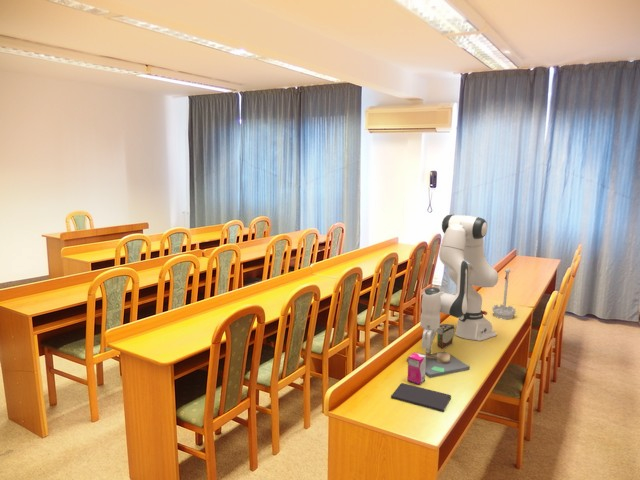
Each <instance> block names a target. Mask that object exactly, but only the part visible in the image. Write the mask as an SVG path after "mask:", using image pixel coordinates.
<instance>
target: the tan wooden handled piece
mask: <svg viewBox="0 0 640 480" xmlns="http://www.w3.org/2000/svg"><path fill="white" fill-rule="evenodd" d="M439 352H440V353H438V352H436V353H437V355H432V354H433V353H432V345H431V346H430V352H429V353H427V352H426V351H425V353H420V352H418V354H422V355H425V356H427V357H430V358H435V359H437V360H436V361H437V362H438V363H441V364H448V363H450V355H451V354H450V353H449V352H447V353H443V352H444V351H439ZM448 353H449V354H450V355H449V354H448Z"/></svg>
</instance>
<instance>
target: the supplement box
mask: <svg viewBox="0 0 640 480" xmlns="http://www.w3.org/2000/svg"><path fill="white" fill-rule="evenodd" d="M418 353H419V352H418ZM418 353H417V352H413V353H411V354H410V355H408V356H407V358H408V362H407V382H410V383H412V384H415V385H418V386H420V385H421V384H423V382H425V381H426V375H425V366H426V356H425V355H422V354H423V353H422V354H418Z"/></svg>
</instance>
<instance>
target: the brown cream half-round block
mask: <svg viewBox="0 0 640 480" xmlns="http://www.w3.org/2000/svg"><path fill="white" fill-rule="evenodd" d="M455 326H456V325H454V324H449V323H442V324H441V323H440V327H439V328H438V329H437V332H436V336H437V338H436V339H437V347H438V348H439V349H441V350H444V349H446V348H447V347H449V346H450V347H451V345H453V343H454V342H453V339H454V334H455V330H456V329H455V328H456V327H455Z"/></svg>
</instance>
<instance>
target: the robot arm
mask: <svg viewBox="0 0 640 480" xmlns="http://www.w3.org/2000/svg"><path fill="white" fill-rule="evenodd" d="M441 229H442V232H443V234H444V235H443V237H442V240H441V242H440V243H441V244H440V248H439V256H438V257H439V260H440V261H441V263H442V264H443V265H444V266H445V267H446V268H448V276H449V278H450V279H451V281H452V282H453V283H454V284H455V285H456V294H454V293H448V292H445V291H441V289H439V288H438V287H434V286H433V287H432V286H431V287H426V288H425V289H424V290H423V293H422V298H421V304H420V305H421V306H420V307H421V313H420V323H419V324H420V327H421V328H422V330H423V332H422V337H421V348H422V349H425V353H426V352H427V353H429V352H430V346H431V347H432V345H433V342H434V340H435V338H436V336H437V329H438V328H439V327H440V325H441V313H442V314H444V315H449V316H451V317H453V318H457V319H458V320H457V324H456V327H455V328H456V329H455V330H454V334H455V336H457V337H460V338H461V339H465V340H473V341H477V342H481V341H484V340H487V339H491V338H495V337H497V336H498V335H497V332H496V331H494V330H493V325H492V322H491V321H489V320H488V319H486V317H484V316H487V315H488V311H486V310H482V306H483V305H482V303H483V297H482V295H481V293H479V292H478V290H476V289H475V288H474V286H475V287H479V288H494V287H495V286H497V284H498V282H499V273H498V272H497V269H495V268H493V266H491V265H490V263H489V262H488V260H487V258H486V256H485V251H484V237H486V235H487V232H488V222H487V221H486V219H484V218H483V217H479V216H478V217H476V216H473V215H467V214H466V215H463V214H456V215H455V214H447V215H446V216H445V217H443V220H442V222H441Z"/></svg>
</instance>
